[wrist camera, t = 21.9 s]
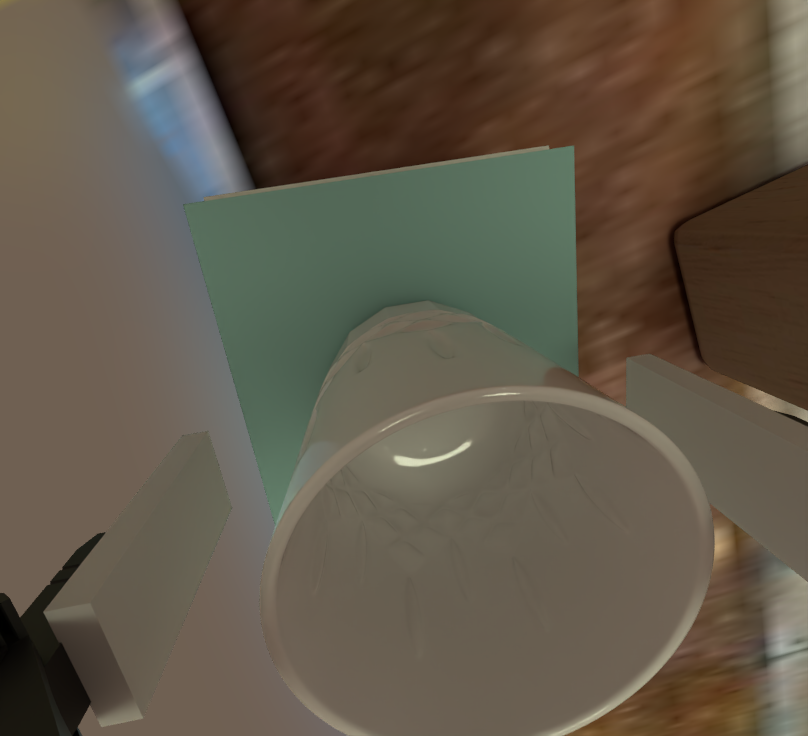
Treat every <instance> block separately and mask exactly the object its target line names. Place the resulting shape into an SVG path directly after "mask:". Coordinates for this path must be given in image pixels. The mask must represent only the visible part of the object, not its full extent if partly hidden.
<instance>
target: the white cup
mask: <svg viewBox="0 0 808 736" xmlns="http://www.w3.org/2000/svg"><path fill="white" fill-rule="evenodd" d="M713 560H714V526H713V519H712V513H711V509H710V505H709V502H708V498H707V495H706V493H705V490H704V488H703V485H702V483H701V481H700V479H699V477H698V475H697V473H696V472H695V470H694V468H693V467H692V465H691V464H690V462H689V461H688V459H687V458H686V457H685V455H684V454H683V453H682V452H681V450H680V449H679V448H678V447H677V446H676V445H675V444H674V443H673V442H672V441H671V440H670V439H669V438H668V437H667V436H666V435H665V434H664V433H663V432H662V431H661V430H659V429H658V428H657V427H656V426H654V425H653V424H652V423H650V422H649V421H647V420H646V419H644V418H643V417H641V416H640V415H638V414H636V413H635V412H633V411H632V410H630V409H628V408H627V407H625V406H624V405H622V404H620V403H619V402H617V401H616V400H614V399H612V398H611V397H609V396H608V395H606V394H604V393H603V392H601V391H600V390H598V389H596V388H595V387H593V386H592V385H590V384H589V383H587V382H585V381H584V380H582V379H581V378H579V377H578V376H576V375H574V374H573V373H571V372H570V371H568V370H567V369H565V368H564V367H562V366H560V365H559V364H557V363H556V362H554V361H553V360H551V359H550V358H548V357H546V356H545V355H543V354H542V353H540V352H539V351H537V350H536V349H534V348H532V347H531V346H529V345H527V344H526V343H524V342H522V341H521V340H519V339H517V338H515V337H513V336H511V335H509V334H507V333H506V332H504V331H503V330H501V329H499V328H497V327H495V326H493V325H491V324H489V323H487V322H485V321H483V320H481V319H478V318H477V317H475V316H474V315H473V314H471V313H469V312H467V311H464V310H460V309H457V308H453V307H450V306H447V305H443V304H440V303H437V302H433V301H430V300H426V301H420V302H414V303H407V304H401V305H395V306H389V307H385V308H383V309H382V310H380V311H379V312H378V313H376V314H375V315H373V316H372V317H370V318H369V319H367V320H366V321H365V322H363V323H362V324H360V325H359V326H357V327H356V328H354V329H353V330H352V331H350V332H349V334H348V335H347V337H346V339H345V341H344V343H343V344H342V346H341V348H340V350H339V352H338V353H337V355H336V357H335V359H334V361H333V362H332V364H331V366H330V368H329V370H328V373H327V375H326V378H325V380H324V382H323V384H322V387H321V389H320V392H319V395H318V397H317V400H316V403H315V406H314V409H313V411H312V414H311V417H310V419H309V422H308V424H307V427H306V430H305V433H304V437H303V440H302V443H301V446H300V450H299V453H298V456H297V459H296V462H295V466H294V469H293V472H292V475H291V479H290V482H289V485H288V488H287V491H286V494H285V498H284V501H283V504H282V507H281V510H280V513H279V516H278V520H277V523H276V526H275V529H274V532H273V535H272V538H271V541H270V544H269V547H268V551H267V554H266V557H265V561H264V565H263V570H262V575H261V582H260V595H259V597H260V598H259V602H260V603H259V606H260V619H261V625H262V631H263V635H264V639H265V643H266V646H267V649H268V651H269V654H270V656H271V658H272V661H273V663H274V665H275V667H276V669H277V671H278V672H279V674H280V676H281V677H282V679H283V680H284V682H285V683H286V685H287V686H288V687H289V689H290V690H291V691H292V692H293V693H294V694H295V696H296V697H297V698H298V699H299V700H300V701H301V702H302V703H303V704H304V705H305V706H306V707H307V708H308V709H309V710H310V711H312V712H313V713H314V714H315V715H316V716H317V717H319V718H320V719H321V720H323V721H324V722H326V723H327V724H329V725H330V726H332V727H333V728H335V729H337V730H338V731H340V732H342V733H344V734H346V735H348V736H564V735H566V734H568V733H571V732H573V731H575V730H577V729H579V728H581V727H583V726H585V725H587V724H589V723H591V722H593V721H594V720H596V719H598V718H600V717H601V716H603V715H605V714H606V713H608V712H609V711H611V710H612V709H614V708H615V707H617V706H618V705H620V704H621V703H623V702H624V701H625V700H627V699H628V698H629V697H630V696H632V695H633V694H634V693H635V692H637V691H638V690H639V689H640V688H641V687H642V686H644V685H645V684H646V683H647V682H648V681H649V680H650V679H651V678H652V677H653V676H654V675H655V674H656V673H657V672H658V671H659V670H660V669H661V668H662V667H663V666H664V664H665V663H666V662H667V661H668V660H669V659H670V657H671V656H672V655H673V654H674V652H675V651H676V650H677V648H678V647H679V645H680V644H681V643H682V641H683V640H684V638H685V636H686V635H687V633H688V632H689V630H690V628H691V626H692V625H693V623H694V621H695V619H696V617H697V615H698V613H699V610H700V608H701V606H702V603H703V601H704V598H705V595H706V592H707V589H708V586H709V582H710V578H711V573H712V568H713Z"/></svg>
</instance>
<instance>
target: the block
mask: <svg viewBox="0 0 808 736" xmlns="http://www.w3.org/2000/svg"><path fill="white" fill-rule="evenodd" d="M674 245H675V249H676V253H677V257H678V261H679V265H680V269H681V274H682V278H683V282H684V286H685V290H686V294H687V299H688V303H689V307H690V311H691V315H692V319H693V324H694V328H695V332H696V336H697V340H698V344H699V348H700V353H701V357H702V358H703V360H704V361H705V363H706V364H707V365H708V366H709V367H710V368H711V369H712V370H714V371H716V372H719V373H721V374H723V375H726V376H728V377H730V378H733V379H735V380H737V381H740V382H742V383H744V384H747V385H749V386H751V387H754V388H756V389H758V390H761V391H763V392H765V393H768V394H770V395H772V396H775V397H777V398H780V399H782V400H784V401H787V402H789V403H791V404H794V405H796V406H798V407H801V408H803V409H805V410H808V165H806V166H804V167H802V168H800V169H798V170H796V171H794V172H791V173H789V174H787V175H785V176H783V177H781V178H779V179H776V180H774V181H772V182H770V183H768V184H766V185H763V186H761V187H759V188H757V189H755V190H753V191H751V192H748V193H746V194H744V195H742V196H740V197H738V198H736V199H733V200H731V201H729V202H727V203H725V204H723V205H720V206H718V207H716V208H714V209H712V210H710V211H708V212H705V213H703V214H701V215H699V216H697V217H695V218H693V219H690V220H689V221H687V222H685V223H684V224H682V225H681V226H680V227H679V228H678V229H677V230H676V231H675V235H674Z"/></svg>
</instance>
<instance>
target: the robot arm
mask: <svg viewBox="0 0 808 736" xmlns="http://www.w3.org/2000/svg"><path fill="white" fill-rule="evenodd" d="M626 407H627V408H628V409H630V410H632V411H633V412H635V413H636V414H638V415H640V416H641V417H643V418H644V419H646V420H647V421H649V422H650V423H652V424H653V425H654V426H656V427H657V428H658V429H659V430H661V431H662V432H663V433H664V434H665V435H666V436H667V437H668V438H669V439H670V440H671V441H672V442H673V443H674V444H675V445H676V446H677V447H678V448H679V449H680V450H681V452H682V453H683V454H684V455H685V457H686V458H687V459H688V461H689V462H690V464H691V465H692V467H693V468H694V470H695V472H696V473H697V475H698V477H699V479H700V481H701V483H702V485H703V488H704V490H705V493H706V495H707V498H708V502H709V503H710V504H712V505H713V506H714V507H715V508H717V509H718V510H719V511H720V512H721V513H723V514H724V515H725V516H726V517H728V518H729V519H730V520H731V521H733V522H734V523H735V524H736V525H738V526H739V527H740V528H741V529H743V530H744V531H745V532H746V533H748V534H749V535H750V536H751V537H753V538H754V539H755V540H756V541H758V542H759V543H760V544H761V545H763V546H764V547H765V548H766V549H767V550H769V551H770V552H771V553H772V554H774V555H775V556H776V557H777V558H779V559H780V560H781V561H782V562H784V563H785V564H786V565H787V566H789V567H790V568H791V569H792V570H794V571H795V572H796V573H797V574H799V575H800V576H801V577H802V578H804V579H805V580H806V581H807V582H808V422H806V421H804V420H802V419H800V418H797V417H795V416H792V415H788V414H784V413H781V412H777V411H773V410H771V409H768V408H766V407H764V406H762V405H760V404H758V403H755V402H753V401H751V400H749V399H747V398H745V397H742V396H740V395H738V394H736V393H734V392H732V391H729V390H727V389H725V388H723V387H721V386H719V385H716V384H714V383H712V382H710V381H708V380H706V379H703V378H701V377H699V376H697V375H695V374H693V373H690V372H688V371H686V370H684V369H682V368H680V367H677V366H675V365H673V364H671V363H669V362H667V361H664V360H662V359H660V358H658V357H656V356H654V355H651V354H646V355H640V356H634V357H628V358H627V370H626ZM231 509H232V506H231V503H230V500H229V497H228V493H227V491H226V487H225V484H224V480H223V477H222V474H221V471H220V468H219V464H218V461H217V458H216V455H215V452H214V448H213V445H212V442H211V439H210V436H209V433H208V431H205V432H200V433H193V434H188V435H183V436H182V437H181V438H180V439H179V441H178V442H177V443H176V444H175V446H174V447H173V448H172V449H171V451H170V452H169V453H168V455H167V456H166V457H165V458H164V459H163V461H162V462H161V463H160V465H159V466H158V467H157V468H156V470H155V471H154V472H153V473H152V475H151V476H150V477H149V479H148V480H147V481H146V482H145V484H144V485H143V486H142V488H141V489H140V490H139V491H138V492H137V494H136V495H135V496H134V498H133V499H132V500H131V501H130V503H129V504H128V505H127V507H126V508H125V509H124V510H123V511H122V513H121V514H120V515H119V517H118V518H117V519H116V520H115V522H114V523H113V524H112V525H111V527H110V528H109V529H108V531H107V532H104V533H99V534H97V535H96V536H94V537H93V538H92V539H90V540H89V541H88V542H86V543H85V544H84V545H83V546H81V547H80V548H79V549H77V550H76V551H75V553H74V554H73V555H72V556H71V557H70V559H69V560H68V561H67V562H66V563H65V565H64V566H63V569H62V570H60V571H59V572H58V573H57V574H56V575H55V577H54V578H53V579H52V581H50V582H51V583H50V585H47V586H46V587H45V589H44V590H43V591H42V592H41V593H40V595H39V596H38V597H37V598H36V599H35V601H34V602H33V603H32V604H31V605H30V607H29V608H28V609H27V610H26V611H25V613H24V614H23V615H22V616H21V617H19V615H18V613H17V611H16V609H15V607H14V606H13V604H12V602H11V600H10V598H9V597H8V596H7V595H5V594H4V593H0V736H82V735H81V733H80V731H79V729H78V725H79V724H80V722H81V720H82V718H83V716H84V714H85V713H86V711H87V709H88V707H89V705H90V706H91V707H92V710H93V712H94V713H95V716H96V717H97V719H98V721H99V723H100V725H101V727H104V726H109V725H114V724H118V723H124V722H129V721H133V720H139V719H143V718H144V716H145V713H146V711H147V708H148V706H149V704H150V701H151V699H152V697H153V694H154V692H155V690H156V687H157V685H158V682H159V680H160V678H161V675H162V673H163V671H164V668H165V666H166V663H167V661H168V658H169V656H170V654H171V652H172V649H173V647H174V645H175V642H176V640H177V637H178V635H179V633H180V630H181V628H182V626H183V623H184V621H185V618H186V616H187V614H188V611H189V609H190V607H191V604H192V602H193V599H194V597H195V595H196V592H197V590H198V587H199V585H200V583H201V580H202V578H203V576H204V573H205V571H206V569H207V566H208V564H209V561H210V559H211V557H212V554H213V552H214V550H215V547H216V545H217V542H218V540H219V538H220V535H221V533H222V530H223V528H224V526H225V524H226V521H227V519H228V516H229V514H230V511H231Z"/></svg>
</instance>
